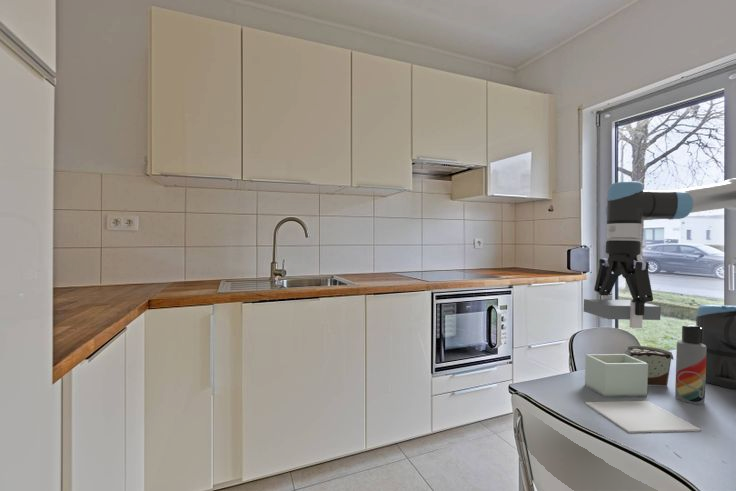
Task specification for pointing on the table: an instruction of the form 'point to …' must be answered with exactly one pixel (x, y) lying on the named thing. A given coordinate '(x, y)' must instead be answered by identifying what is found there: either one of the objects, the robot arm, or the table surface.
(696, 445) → the table surface
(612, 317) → the lid
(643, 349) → the food container
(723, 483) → the table surface
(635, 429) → the mat
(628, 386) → the storage box
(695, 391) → the lotion bottle
